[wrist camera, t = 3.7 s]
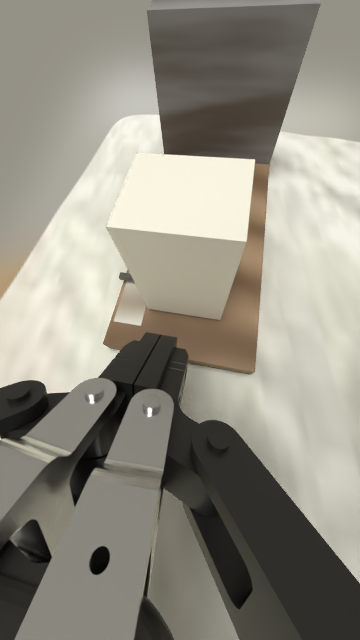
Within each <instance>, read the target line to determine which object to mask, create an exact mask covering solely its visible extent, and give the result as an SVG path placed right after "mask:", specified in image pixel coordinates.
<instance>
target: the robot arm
mask: <svg viewBox="0 0 360 640" xmlns="http://www.w3.org/2000/svg"><path fill="white" fill-rule="evenodd" d="M188 357H189V356H188V354H187V351H186V349H182V348H177V337H173V336H167V335H161V334H155V333H150V332H146V333H145V334H144V336H143V337H142V338H141V340H140V341H136V340H133V341H131V342H130V343H128V344H126V345H125V346H124V347H123V348H122V349H121V351H120V353H118V354H117V355H116V357H115V358H114V359H113V360H112V362H111V363H110V364H109V365H108V366H107V368H106V369H105V370H104V371H103V373H102V374H101V375H100V376H99V377H98V378H94V379H89V380H86V381H84V382H82V383H80V384H79V385H78V386H76V387H75V388H74V389H73V390H72V391H71V392H68V393H50V394H47V392H46V387H45V385H44V384H43V383H41V382H39V381H34V380H28V381H22V382H18V383H15V384H12V385H8V386H5V387H2V388H0V438H1V440H0V640H174V639H173V636H172V634H171V632H170V630H169V628H168V626H167V625H166V623H165V621H164V620H163V618H162V616H161V615H160V613H159V612H158V610H157V609H156V608H155V607H154V605H153V604H152V603H151V602H150V600H149V599H148V595H149V588H150V581H151V574H152V568H153V561H154V553H155V546H156V538H157V531H158V524H159V518H160V511H161V504H162V498H163V491H164V488H165V489H166V490H168V491H169V492H170V493H171V494H173V495H174V496H175V497H177V498H178V499H179V500H181V501H182V502H183V506H184V509H185V512H186V514H187V517H188V519H189V521H190V524H191V526H192V528H193V531H194V533H195V535H196V538H197V540H198V543H199V545H200V547H201V550H202V552H203V554H204V557H205V559H206V561H207V564H208V566H209V568H210V571H211V573H212V576H213V578H214V580H215V583H216V585H217V587H218V590H219V592H220V594H221V597H222V599H223V601H224V604H225V606H226V609H227V611H228V613H229V616H230V618H231V620H232V623H233V625H234V627H235V630H236V632H237V634H238V637H239V639H240V640H360V583H359V582H358V581H357V580H356V578H355V577H354V576H353V575H352V573H351V572H350V571H349V570H348V569H347V567H346V566H345V565H344V564H343V562H342V561H341V560H340V559H339V557H338V556H337V555H336V554H335V553H334V551H333V550H332V549H331V548H330V546H329V545H328V544H327V543H326V541H325V540H324V539H323V538H322V537H321V535H320V534H319V533H318V532H317V530H316V529H315V528H314V527H313V525H312V524H311V523H310V522H309V521H308V519H307V518H306V517H305V516H304V514H303V513H302V512H301V511H300V509H299V508H298V507H297V506H296V505H295V503H294V502H293V501H292V500H291V498H290V497H289V496H288V495H287V493H286V492H285V491H284V490H283V488H282V487H281V486H280V485H279V484H278V482H277V481H276V480H275V479H274V477H273V476H272V475H271V474H270V472H269V471H268V470H267V469H266V468H265V466H264V465H263V464H262V463H261V461H260V460H259V459H258V458H257V456H256V455H255V454H254V453H253V452H252V450H251V449H250V448H249V447H248V445H247V444H246V443H245V442H244V440H243V439H242V438H241V437H240V436H239V434H238V433H237V432H236V431H235V430H234V429H233V428H232V427H231V426H229V425H227V424H226V423H223V422H221V421H216V420H208V421H204V422H202V423H200V424H199V423H197V422H195V421H193V420H191V419H190V418H188V417H187V416H186V415H185V414H184V413H183V412H182V410H181V409H180V403H181V398H182V394H183V389H184V385H185V380H186V372H187V365H188Z"/></svg>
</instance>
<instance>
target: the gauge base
mask: <svg viewBox="0 0 360 640" xmlns="http://www.w3.org/2000/svg"><path fill="white" fill-rule="evenodd" d="M320 4H321V2H320V0H153V1H152V2H151V4H150V6H149V7H148V9H147V16H148V24H149V32H150V40H151V48H152V56H153V65H154V73H155V81H156V89H157V98H158V106H159V114H160V122H161V130H162V139H163V147H164V154H166V155H184V156H202V157H220V158H238V159H255V166H254V176H253V185H252V195H251V204H250V214H249V223H248V233H247V242H246V245H245V248H244V251H243V254H242V257H241V260H240V263H239V266H238V269H237V272H236V275H235V278H234V281H233V284H232V287H231V290H230V293H229V296H228V299H227V302H226V305H225V308H224V311H223V314H222V317H221V320H216V319H209V318H203V317H197V316H190V315H184V314H178V313H171V312H165V311H158V310H152V309H148V307H147V305H146V303H145V301H144V300H143V298H142V296H141V294H140V292H139V290H138V288H137V286H136V284H135V282H133V281H126V280H124V282H123V285H122V288H121V291H120V294H119V297H118V300H117V303H116V306H115V309H114V312H113V315H112V318H111V321H110V324H109V327H108V330H107V333H106V336H105V339H104V342H103V344H104V345H106V346H108V347H109V348H113V349H118V350H121V349H122V348H123V347H124V346H125V345H126V344H128V343H130V342H131V341H133V340H136V341H140V340H141V338H142V337H143V336H144V334H145V333H146V332H150V333H155V334H161V335H167V336H173V337H177V348H182V349H186V351H187V354H188V356H189V357H188V363H192V364H198V365H203V366H208V367H214V368H219V369H224V370H230V371H235V372H240V373H246V374H251V373H254V372H255V362H256V348H257V334H258V319H259V305H260V290H261V276H262V262H263V247H264V233H265V218H266V204H267V189H268V175H269V164H270V160H271V157H272V154H273V151H274V148H275V145H276V142H277V139H278V135H279V132H280V129H281V126H282V123H283V120H284V117H285V114H286V110H287V107H288V104H289V101H290V97H291V95H292V92H293V89H294V85H295V82H296V79H297V76H298V73H299V70H300V66H301V64H302V60H303V57H304V54H305V51H306V48H307V45H308V42H309V39H310V35H311V32H312V29H313V26H314V23H315V20H316V17H317V14H318V10H319V7H320ZM127 273H129V274H130V272H129V270H127Z"/></svg>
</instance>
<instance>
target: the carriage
mask: <svg viewBox="0 0 360 640" xmlns="http://www.w3.org/2000/svg"><path fill="white" fill-rule="evenodd" d="M254 166H255V159H238V158H220V157H202V156H184V155H166V154H148V153H136V155H135V158H134V160H133V163H132V165H131V167H130V170H129V172H128V175H127V177H126V180H125V182H124V184H123V187H122V189H121V192H120V194H119V197H118V199H117V201H116V204H115V206H114V209H113V211H112V214H111V216H110V218H109V221H108V223H107V226H106V228H107V229H108V231H109V233H110V235H111V237H112V239H113V241H114V243H115V245H116V247H117V249H118V251H119V253H120V255H121V257H122V259H123V261H124V263H125V265H126V266H127V268H128V270H129V272H130V274H129V273H122V272H121V273H120V275H119V278H120V280H126V281H133V282H135V284H136V286H137V288H138V290H139V292H140V294H141V296H142V298H143V300H144V301H145V303H146V305H147V307H148V309H152V310H158V311H165V312H171V313H178V314H184V315H190V316H197V317H203V318H209V319H216V320H221V317H222V314H223V311H224V308H225V305H226V302H227V299H228V296H229V293H230V290H231V287H232V284H233V281H234V278H235V275H236V272H237V269H238V266H239V263H240V260H241V257H242V254H243V251H244V248H245V245H246V242H247V233H248V223H249V214H250V204H251V195H252V185H253V176H254Z"/></svg>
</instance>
